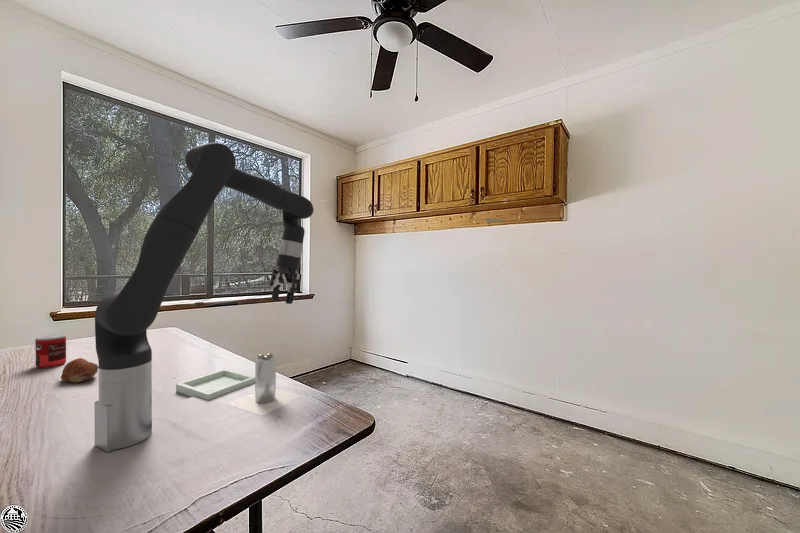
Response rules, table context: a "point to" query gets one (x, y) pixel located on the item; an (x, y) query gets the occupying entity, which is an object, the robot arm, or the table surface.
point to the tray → (214, 384)
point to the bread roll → (79, 370)
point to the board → (262, 409)
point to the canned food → (50, 350)
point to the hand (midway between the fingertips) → (281, 301)
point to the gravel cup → (265, 379)
